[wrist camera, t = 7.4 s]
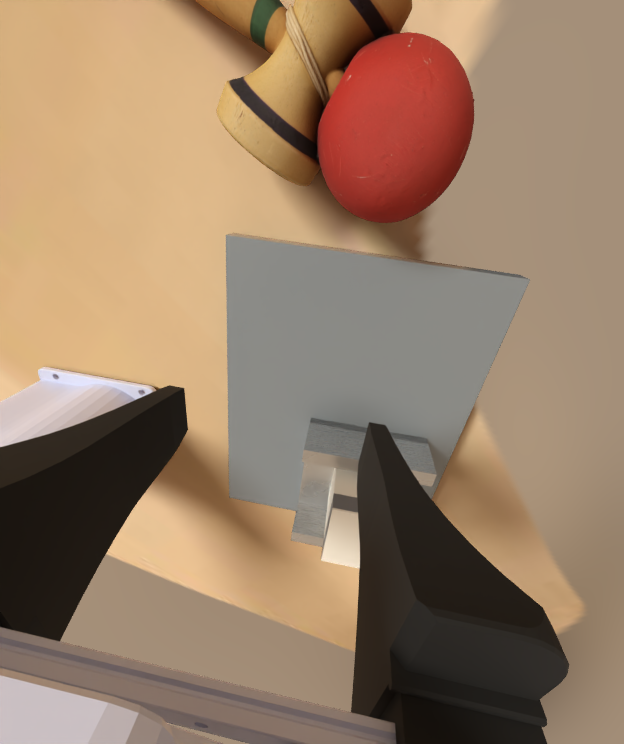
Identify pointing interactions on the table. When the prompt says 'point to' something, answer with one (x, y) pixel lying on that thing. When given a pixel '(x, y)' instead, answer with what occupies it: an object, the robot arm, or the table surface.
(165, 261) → the table surface
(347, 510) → the block
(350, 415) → the board
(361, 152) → the kendama
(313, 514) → the end holder
